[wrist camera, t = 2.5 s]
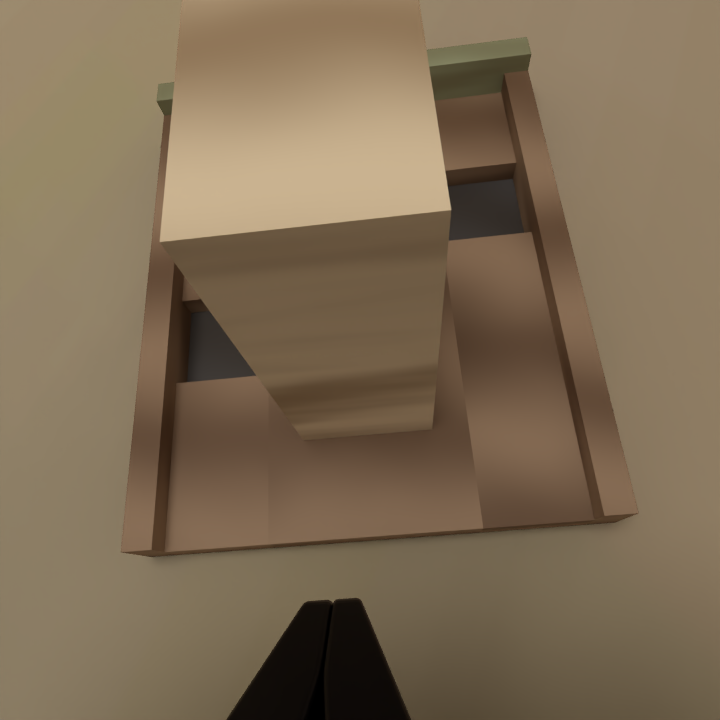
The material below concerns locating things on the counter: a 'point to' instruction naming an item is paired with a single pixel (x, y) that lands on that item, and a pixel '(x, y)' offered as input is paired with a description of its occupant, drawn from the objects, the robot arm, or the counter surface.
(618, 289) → the counter surface
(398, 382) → the beech block
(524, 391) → the trap lane
